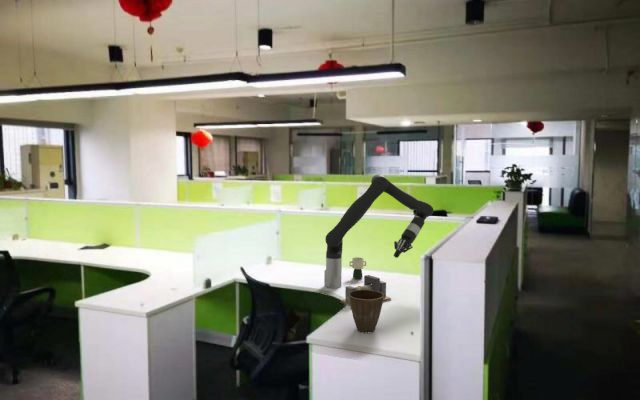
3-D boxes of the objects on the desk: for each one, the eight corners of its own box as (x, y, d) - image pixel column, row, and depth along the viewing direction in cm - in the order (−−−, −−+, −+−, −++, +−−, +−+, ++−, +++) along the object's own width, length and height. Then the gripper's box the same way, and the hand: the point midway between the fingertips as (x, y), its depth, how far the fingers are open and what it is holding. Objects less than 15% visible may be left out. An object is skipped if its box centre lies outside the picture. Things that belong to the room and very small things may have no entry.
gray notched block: (368, 291, 259) (368, 274, 259) (379, 294, 252) (379, 278, 252) (364, 291, 258) (364, 275, 257) (375, 295, 250) (375, 279, 250)
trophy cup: (364, 277, 307) (364, 257, 306) (367, 279, 300) (367, 259, 299) (348, 277, 305) (348, 257, 304) (350, 280, 298) (350, 259, 297)
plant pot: (380, 338, 199) (380, 300, 198) (345, 334, 203) (345, 297, 202) (385, 326, 214) (385, 291, 212) (352, 323, 218) (353, 288, 216)
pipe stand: (375, 295, 265) (376, 279, 264) (391, 300, 255) (391, 283, 255) (340, 302, 250) (340, 285, 250) (355, 307, 241) (355, 290, 240)
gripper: (399, 227, 274) (383, 250, 268) (416, 229, 263) (400, 254, 257) (405, 235, 277) (390, 259, 271) (423, 238, 267) (407, 262, 260)
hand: (395, 256), depth 264 cm, fingers closed
